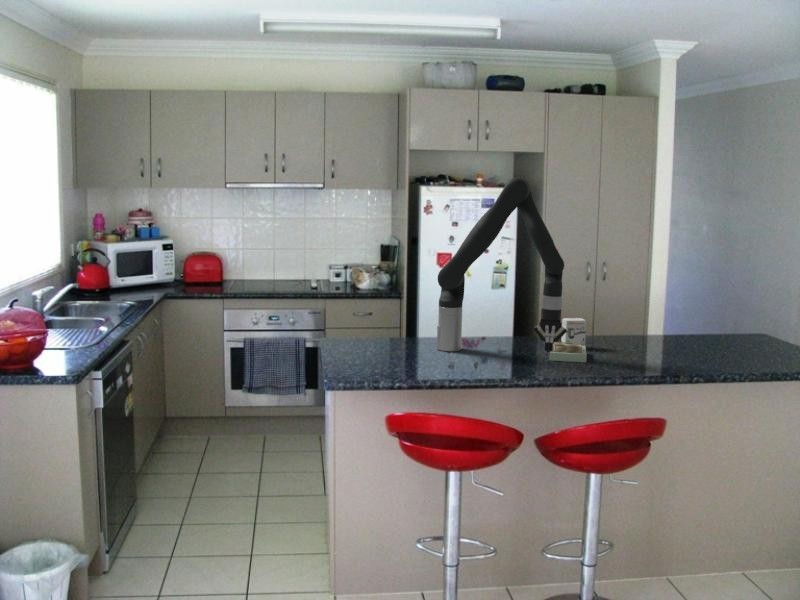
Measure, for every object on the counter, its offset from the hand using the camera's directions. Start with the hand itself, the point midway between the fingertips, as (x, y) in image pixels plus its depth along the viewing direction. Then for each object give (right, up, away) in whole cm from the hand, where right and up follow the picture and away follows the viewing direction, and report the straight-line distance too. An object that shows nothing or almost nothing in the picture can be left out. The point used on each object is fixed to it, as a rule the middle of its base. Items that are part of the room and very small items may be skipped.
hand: (548, 351), depth 327 cm
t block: (+6, -2, 0) cm, 6 cm away
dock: (+7, -2, -1) cm, 8 cm away
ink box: (+13, 0, +16) cm, 21 cm away
